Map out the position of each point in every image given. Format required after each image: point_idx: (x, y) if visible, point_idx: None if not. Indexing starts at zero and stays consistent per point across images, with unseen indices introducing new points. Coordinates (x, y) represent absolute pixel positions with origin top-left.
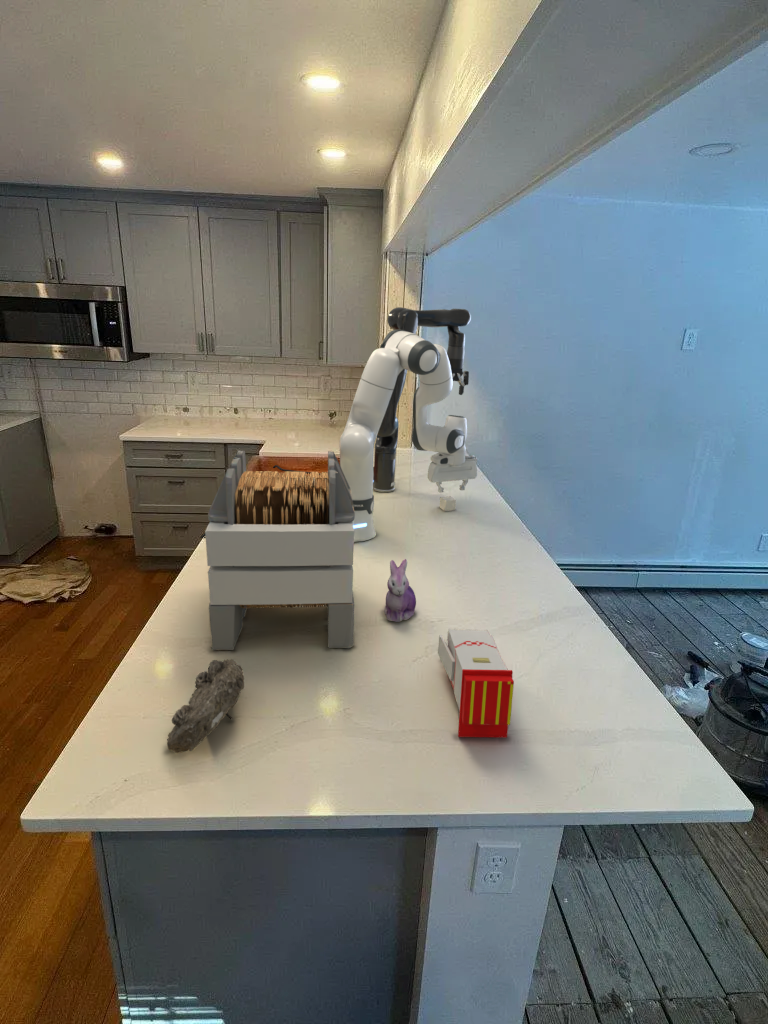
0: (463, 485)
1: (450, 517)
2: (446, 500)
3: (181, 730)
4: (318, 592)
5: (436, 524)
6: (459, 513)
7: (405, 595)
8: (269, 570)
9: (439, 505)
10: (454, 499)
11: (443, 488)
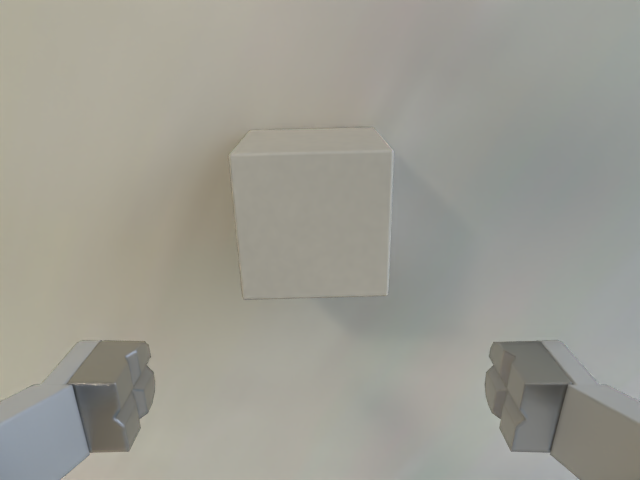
0: (563, 448)
1: (241, 380)
2: (256, 294)
3: None
4: None
5: (76, 466)
6: (365, 322)
7: None
8: None
9: (245, 135)
10: (374, 285)
11: (125, 448)
